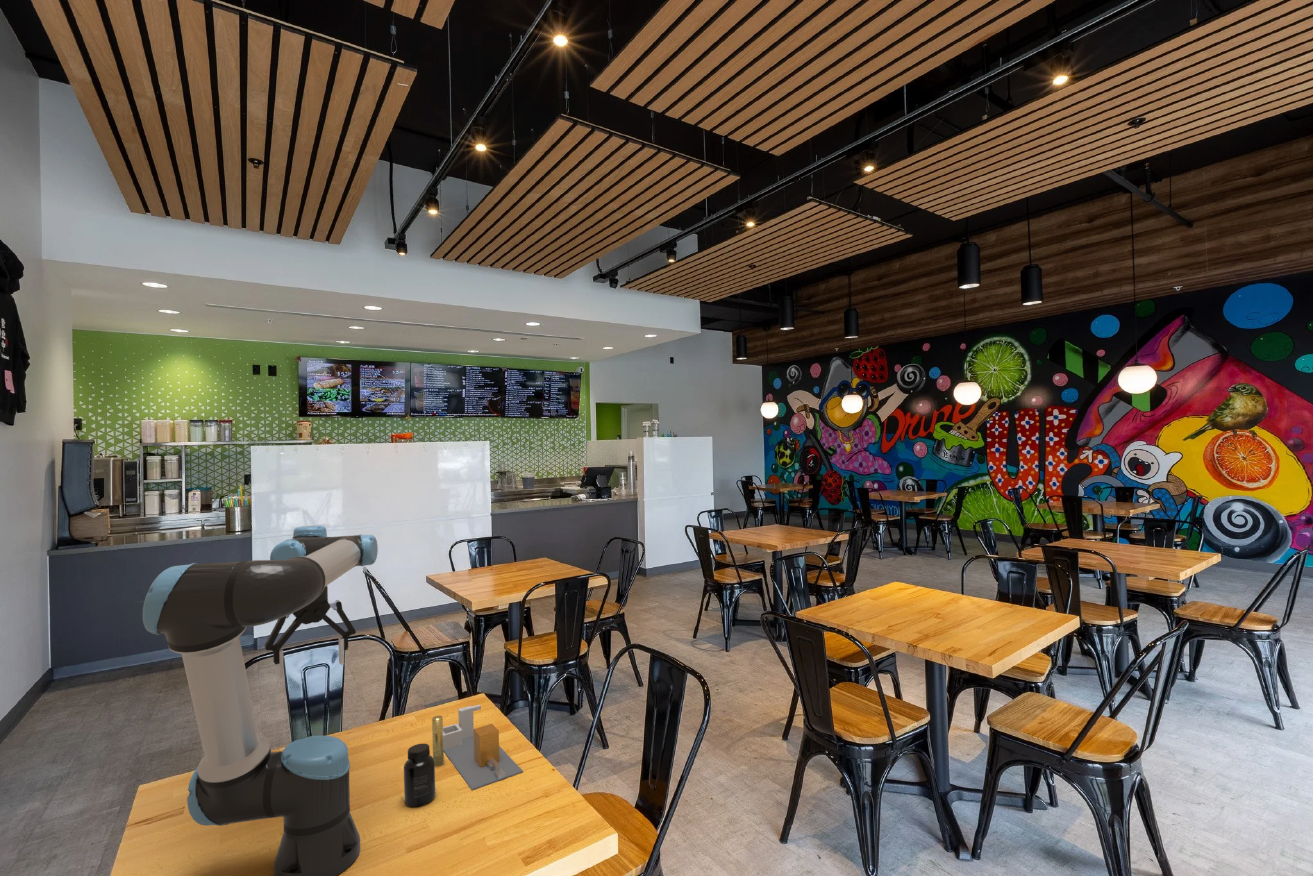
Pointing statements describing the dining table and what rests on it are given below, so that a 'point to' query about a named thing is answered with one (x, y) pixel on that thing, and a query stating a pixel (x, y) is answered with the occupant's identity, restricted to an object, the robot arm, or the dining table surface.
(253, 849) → the dining table surface
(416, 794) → the supplement bottle
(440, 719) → the pin
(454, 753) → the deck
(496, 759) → the orange block with fittings
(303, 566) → the robot arm
